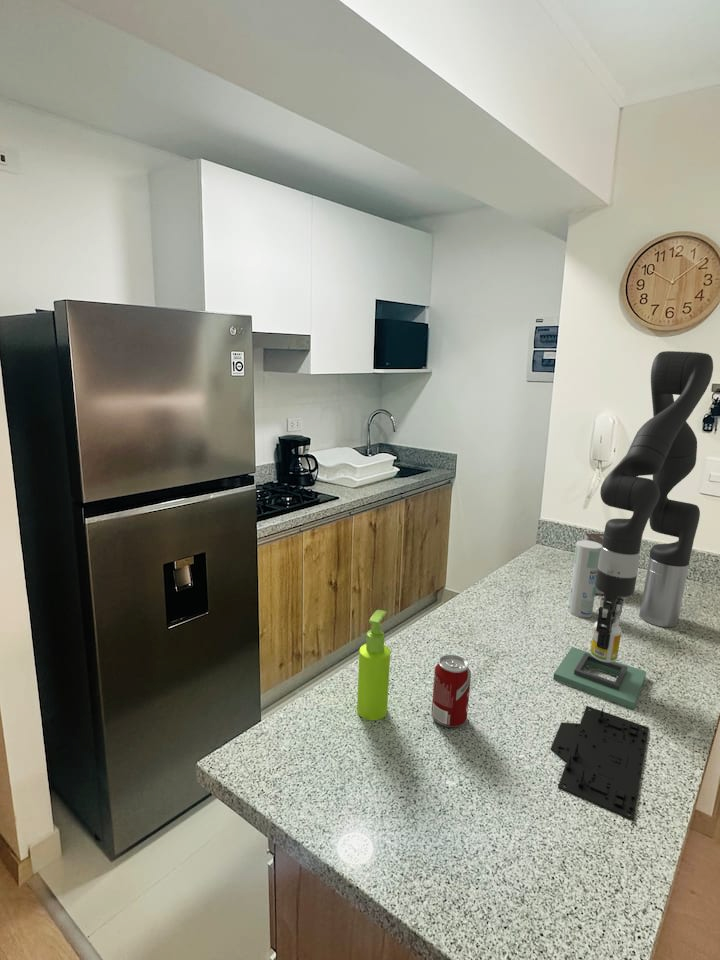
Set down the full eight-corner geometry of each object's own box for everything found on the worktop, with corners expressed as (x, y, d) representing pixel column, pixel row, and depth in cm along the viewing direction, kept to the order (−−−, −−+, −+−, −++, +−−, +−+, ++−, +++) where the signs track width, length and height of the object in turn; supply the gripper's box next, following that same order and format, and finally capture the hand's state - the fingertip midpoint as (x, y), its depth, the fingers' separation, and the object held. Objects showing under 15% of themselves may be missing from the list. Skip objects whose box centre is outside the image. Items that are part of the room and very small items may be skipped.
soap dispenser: (392, 702, 107) (397, 610, 103) (382, 723, 101) (387, 627, 96) (364, 695, 109) (368, 605, 104) (352, 716, 103) (356, 621, 98)
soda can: (445, 734, 99) (449, 677, 96) (424, 712, 104) (428, 657, 102) (473, 724, 102) (479, 668, 99) (452, 703, 108) (456, 649, 105)
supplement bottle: (611, 650, 119) (618, 610, 116) (620, 664, 113) (627, 622, 111) (586, 648, 119) (592, 608, 117) (594, 662, 114) (601, 620, 112)
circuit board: (633, 823, 82) (636, 807, 81) (538, 782, 89) (540, 766, 88) (648, 731, 102) (650, 717, 102) (569, 703, 110) (571, 690, 109)
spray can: (584, 620, 144) (594, 550, 139) (562, 610, 149) (571, 542, 144) (596, 613, 148) (607, 545, 143) (574, 604, 153) (584, 538, 148)
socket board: (571, 652, 128) (572, 642, 127) (645, 677, 119) (647, 667, 118) (553, 679, 117) (554, 669, 116) (633, 709, 108) (635, 698, 107)
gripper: (630, 585, 104) (617, 662, 108) (643, 563, 115) (630, 634, 119) (589, 574, 108) (578, 649, 112) (606, 555, 119) (595, 624, 123)
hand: (605, 641), depth 116 cm, fingers closed on supplement bottle, 5 cm apart
